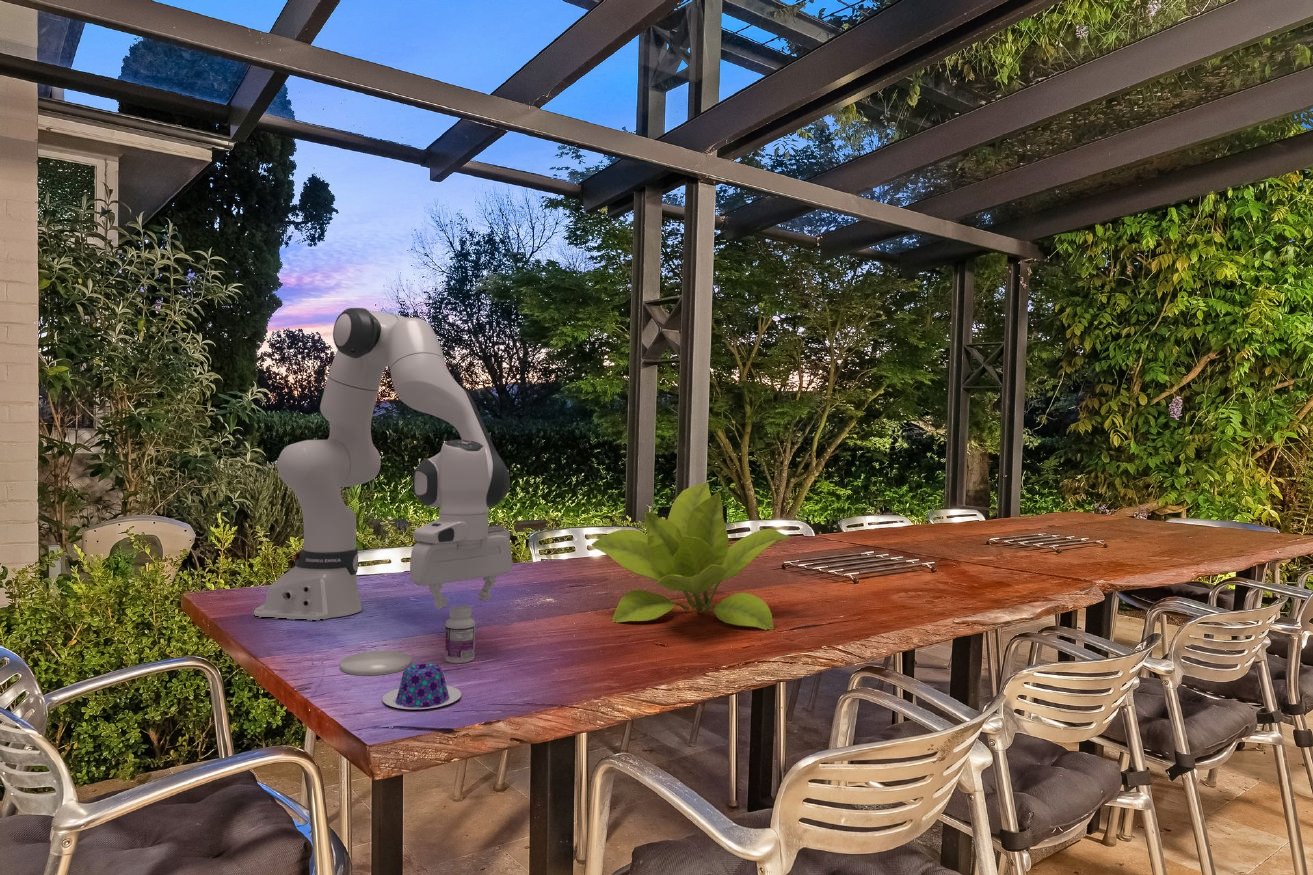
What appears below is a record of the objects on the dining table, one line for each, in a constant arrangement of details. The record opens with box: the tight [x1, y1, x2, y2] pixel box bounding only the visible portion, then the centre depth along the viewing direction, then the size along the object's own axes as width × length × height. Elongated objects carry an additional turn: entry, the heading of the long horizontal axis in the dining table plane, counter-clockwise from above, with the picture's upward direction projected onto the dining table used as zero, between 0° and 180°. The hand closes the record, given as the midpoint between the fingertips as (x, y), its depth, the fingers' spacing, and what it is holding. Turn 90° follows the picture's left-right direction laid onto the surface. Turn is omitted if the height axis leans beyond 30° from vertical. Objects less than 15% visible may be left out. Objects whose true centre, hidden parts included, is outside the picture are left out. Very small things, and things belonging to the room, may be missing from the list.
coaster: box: [339, 650, 412, 676], centre depth 150 cm, size 12×12×1 cm
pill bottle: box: [444, 605, 476, 664], centre depth 154 cm, size 5×5×10 cm
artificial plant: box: [591, 481, 791, 631], centre depth 192 cm, size 42×43×30 cm
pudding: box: [382, 662, 462, 710], centre depth 132 cm, size 12×12×5 cm
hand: (463, 603), depth 154 cm, fingers open, 8 cm apart
